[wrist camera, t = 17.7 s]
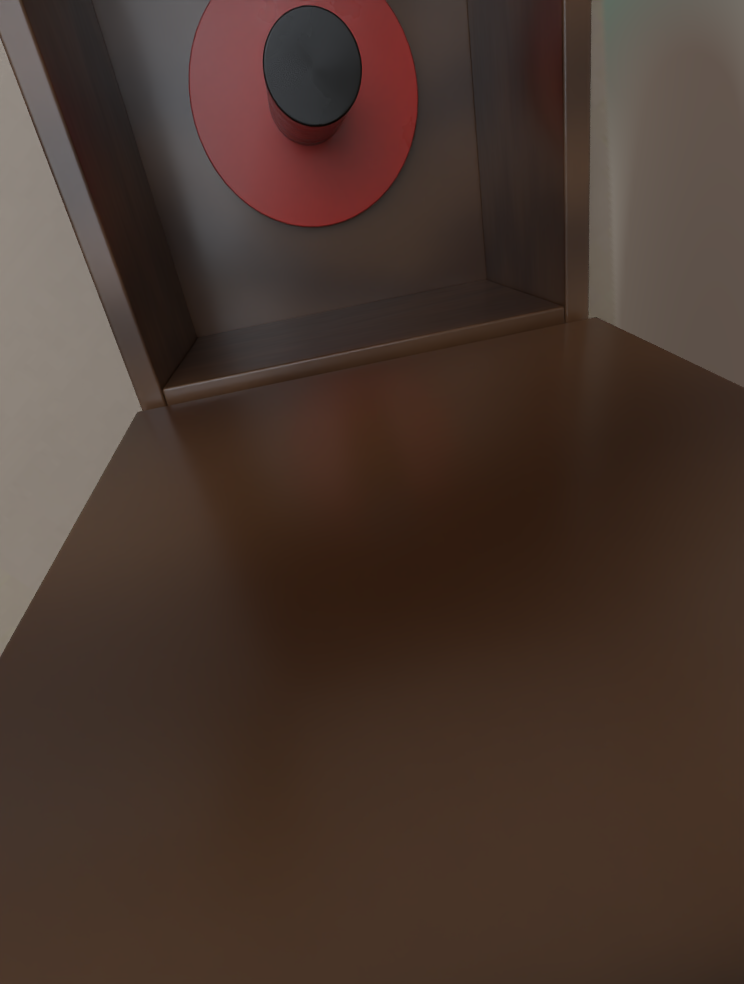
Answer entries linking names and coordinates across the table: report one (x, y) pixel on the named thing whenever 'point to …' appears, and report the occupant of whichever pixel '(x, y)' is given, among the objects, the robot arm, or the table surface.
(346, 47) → the pot lid
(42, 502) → the table surface
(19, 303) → the table surface
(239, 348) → the chest
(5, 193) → the table surface
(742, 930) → the chest lid
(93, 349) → the table surface
